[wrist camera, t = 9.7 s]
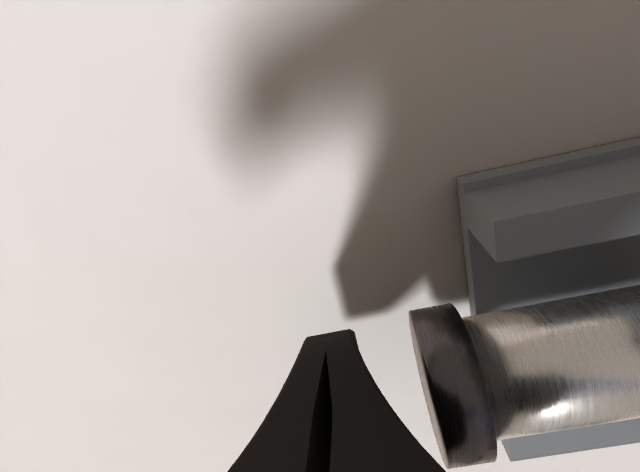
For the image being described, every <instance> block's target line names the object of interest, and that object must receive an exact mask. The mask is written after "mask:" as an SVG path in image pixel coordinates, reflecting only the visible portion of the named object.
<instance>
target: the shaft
mask: <svg viewBox="0 0 640 472" xmlns="http://www.w3.org/2000/svg"><path fill="white" fill-rule="evenodd" d="M409 323H410V330H411V336H412V341H413V347H414V352H415V357H416V361H417V366H418V371H419V375H420V379H421V384H422V388H423V392H424V396H425V400H426V404H427V408H428V412H429V416H430V419H431V423H432V427H433V430H434V434H435V437H436V441H437V444H438V447H439V450H440V453H441V456H442V459H443V462H444V464H445V466H446V468H447V469H450V468H457V467H464V466H470V465H477V464H484V463H490V462H495V460H496V457H497V441H496V440H503V439H509V438H516V437H522V436H528V435H535V434H541V433H548V432H554V431H561V430H567V429H574V428H580V427H587V426H593V425H599V424H606V423H612V422H619V421H625V420H632V419H638V418H640V285H635V286H629V287H624V288H619V289H613V290H608V291H603V292H597V293H592V294H586V295H581V296H576V297H570V298H565V299H560V300H554V301H549V302H543V303H538V304H533V305H527V306H522V307H516V308H511V309H506V310H500V311H495V312H490V313H484V314H479V315H473V316H468V317H463V318H461V316H460V315H459V313H458V311H457V310H456V308H455V307H454V306H453V305H452V304H451V303H448V304H443V305H438V306H432V307H427V308H422V309H417V310H411V311H409Z"/></svg>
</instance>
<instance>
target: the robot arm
mask: <svg viewBox="0 0 640 472" xmlns="http://www.w3.org/2000/svg"><path fill="white" fill-rule="evenodd" d="M228 472H446V471H445V470H444V469H443V468H442V467H441V466H440V465H439V464H438V463H437V462H436V461H435V460H434V458H433V457H432V456H431V455H430V454H429V453H428V452H427V451H426V450H425V449H424V448H423V447H422V446H421V444H420V443H419V442H418V441H417V440H416V438H415V437H414V436H413V435H412V434H411V432H410V431H409V430H408V429H407V427H406V426H405V425H404V424H403V422H402V421H401V420H400V418H399V417H398V416H397V414H396V413H395V412H394V410H393V409H392V407H391V406H390V405H389V403H388V402H387V400H386V399H385V397H384V396H383V394H382V393H381V391H380V389H379V388H378V386H377V385H376V383H375V381H374V379H373V378H372V376H371V374H370V372H369V370H368V369H367V367H366V365H365V363H364V361H363V359H362V356H361V354H360V352H359V349H358V345H357V340H356V336H355V332H354V331H352V330H350V329H348V330H342V331H337V332H332V333H326V334H321V335H316V336H310V337H307V338H306V339H305V341H304V343H303V345H302V348H301V350H300V352H299V354H298V357H297V359H296V361H295V363H294V365H293V368H292V370H291V372H290V374H289V376H288V378H287V380H286V382H285V384H284V385H283V387H282V389H281V391H280V393H279V395H278V397H277V399H276V400H275V402H274V404H273V406H272V407H271V409H270V411H269V412H268V414H267V416H266V417H265V419H264V421H263V422H262V424H261V426H260V427H259V429H258V430H257V432H256V433H255V435H254V436H253V438H252V439H251V441H250V442H249V444H248V445H247V446H246V448H245V449H244V451H243V452H242V453H241V455H240V456H239V457H238V459H237V460H236V461H235V463H234V464H233V465H232V466H231V468H230V469H229V470H228Z"/></svg>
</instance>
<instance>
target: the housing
mask: <svg viewBox="0 0 640 472" xmlns="http://www.w3.org/2000/svg"><path fill="white" fill-rule="evenodd" d="M456 179H457V189H458V198H459V208H460V217H461V227H462V236H463V246H464V255H465V265H466V274H467V284H468V293H469V302H470V312H471V316H473V315H479V314H484V313H490V312H495V311H500V310H506V309H511V308H516V307H522V306H527V305H533V304H538V303H543V302H549V301H554V300H560V299H565V298H570V297H576V296H581V295H586V294H592V293H597V292H603V291H608V290H613V289H619V288H624V287H629V286H635V285H640V137H637V138H632V139H628V140H623V141H618V142H614V143H609V144H605V145H600V146H596V147H591V148H587V149H582V150H578V151H573V152H568V153H564V154H559V155H555V156H550V157H546V158H541V159H537V160H532V161H527V162H523V163H518V164H514V165H509V166H505V167H500V168H496V169H491V170H487V171H482V172H477V173H473V174H468V175H464V176H459V177H456ZM501 441H502V444H503V446H504V448H505V450H506V452H507V454H508V457H509V459H510V461H518V460H525V459H531V458H538V457H545V456H551V455H558V454H565V453H571V452H578V451H585V450H592V449H598V448H605V447H612V446H618V445H625V444H632V443H638V442H640V418H638V419H632V420H625V421H619V422H612V423H606V424H599V425H593V426H587V427H580V428H574V429H567V430H561V431H554V432H548V433H541V434H535V435H528V436H522V437H516V438H509V439H503V440H501Z"/></svg>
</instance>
